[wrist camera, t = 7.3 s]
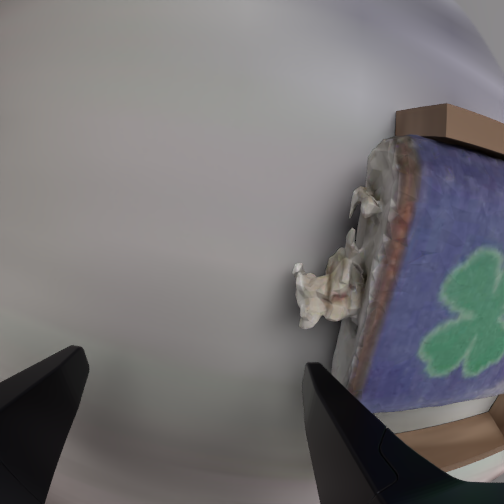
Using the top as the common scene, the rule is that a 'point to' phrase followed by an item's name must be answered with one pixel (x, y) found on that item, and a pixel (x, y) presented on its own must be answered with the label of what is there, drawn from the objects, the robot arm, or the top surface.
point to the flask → (418, 279)
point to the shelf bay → (500, 415)
